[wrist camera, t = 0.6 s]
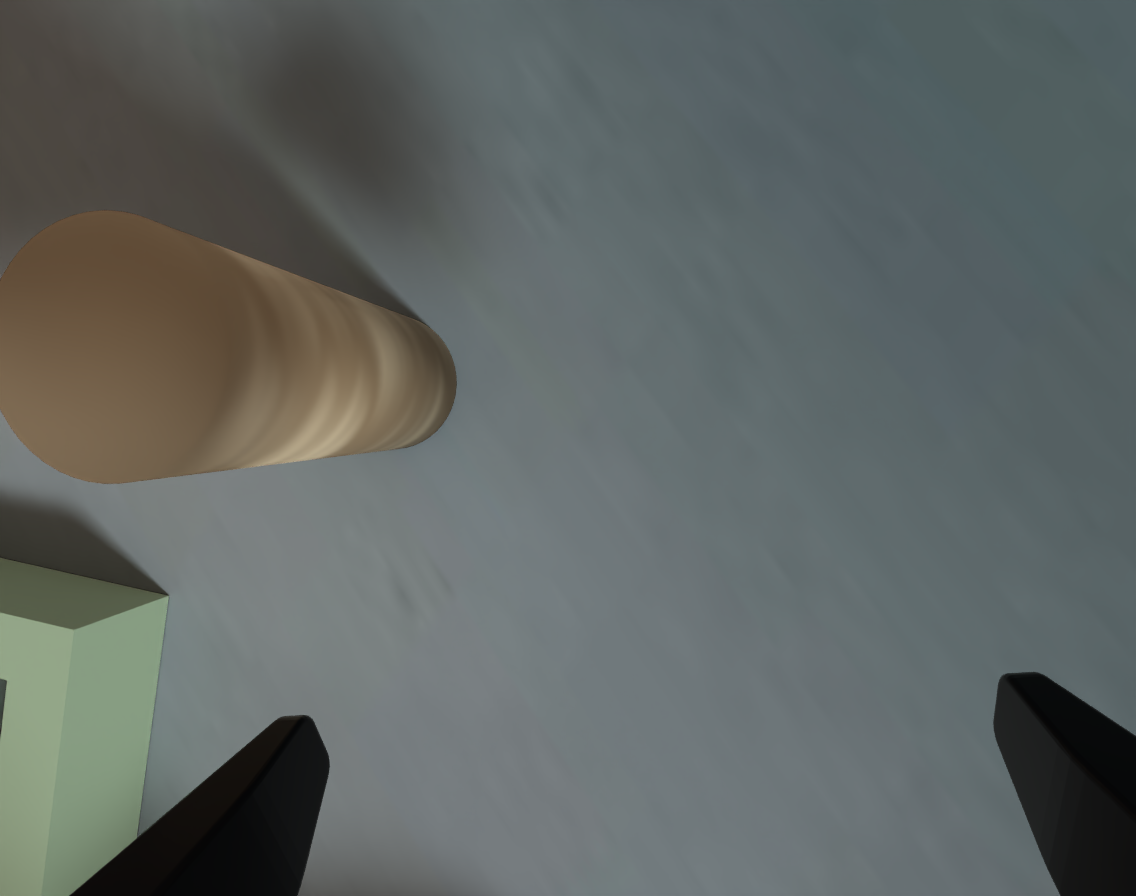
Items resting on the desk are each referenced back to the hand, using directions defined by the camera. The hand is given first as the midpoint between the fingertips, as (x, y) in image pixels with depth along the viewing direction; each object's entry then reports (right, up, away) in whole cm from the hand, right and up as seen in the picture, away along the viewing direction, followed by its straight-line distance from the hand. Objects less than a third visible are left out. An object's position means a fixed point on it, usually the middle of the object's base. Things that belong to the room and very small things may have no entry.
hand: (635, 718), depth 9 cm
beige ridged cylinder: (-7, +6, +14) cm, 17 cm away
